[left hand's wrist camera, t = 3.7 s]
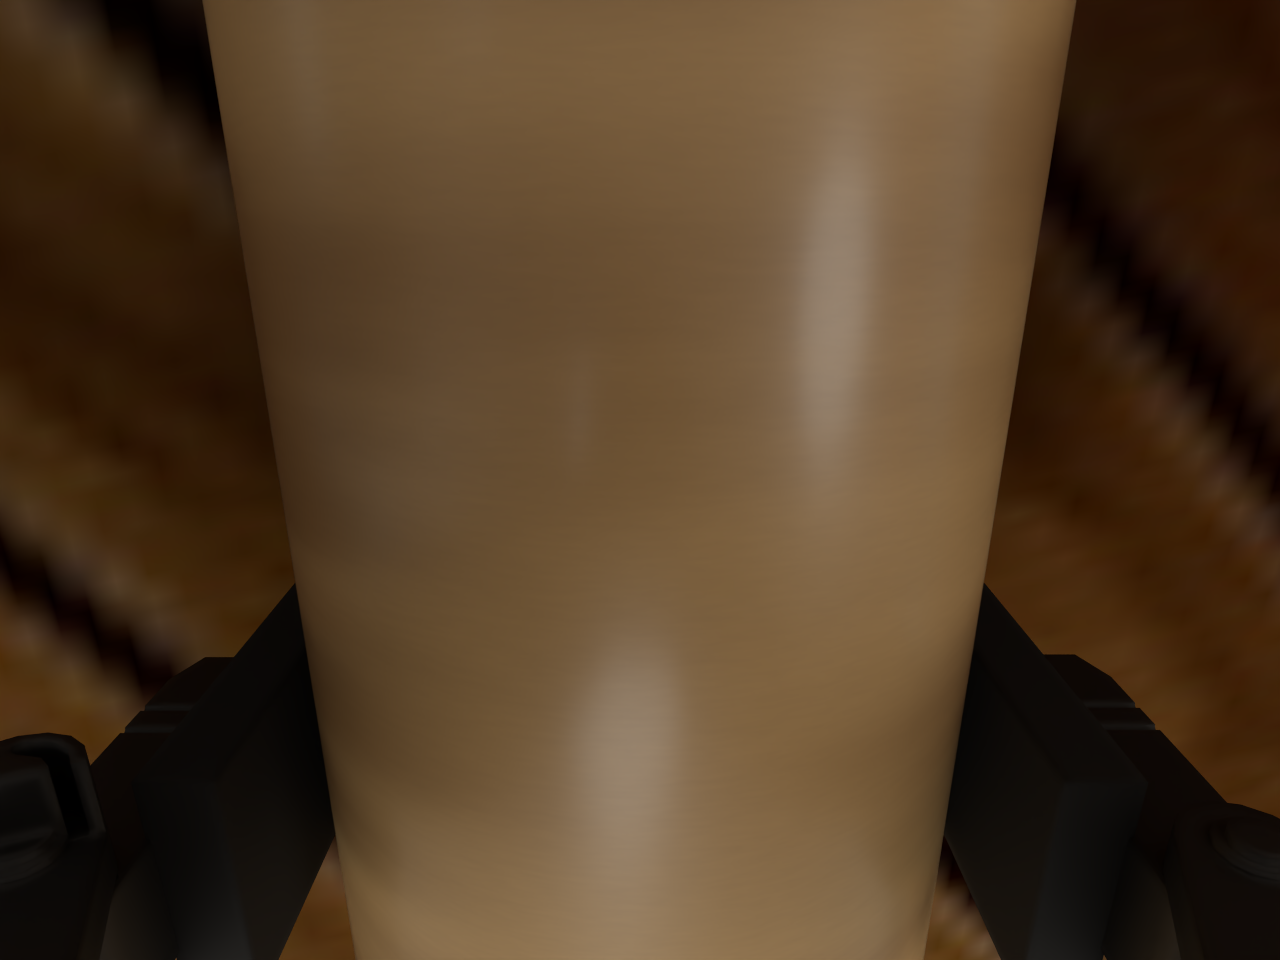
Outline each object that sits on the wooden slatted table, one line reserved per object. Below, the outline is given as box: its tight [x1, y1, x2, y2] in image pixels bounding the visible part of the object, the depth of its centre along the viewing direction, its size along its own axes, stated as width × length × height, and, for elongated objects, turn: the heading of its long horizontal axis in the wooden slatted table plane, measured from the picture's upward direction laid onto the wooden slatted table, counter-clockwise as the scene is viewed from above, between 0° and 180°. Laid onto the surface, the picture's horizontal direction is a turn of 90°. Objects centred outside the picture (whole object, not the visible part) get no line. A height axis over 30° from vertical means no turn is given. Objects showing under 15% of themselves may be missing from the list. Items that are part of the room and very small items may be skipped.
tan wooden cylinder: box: [202, 0, 1076, 960], centre depth 8 cm, size 23×8×8 cm, turn 0°
